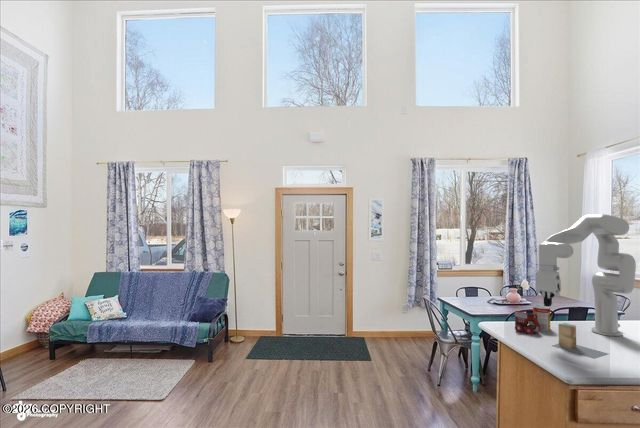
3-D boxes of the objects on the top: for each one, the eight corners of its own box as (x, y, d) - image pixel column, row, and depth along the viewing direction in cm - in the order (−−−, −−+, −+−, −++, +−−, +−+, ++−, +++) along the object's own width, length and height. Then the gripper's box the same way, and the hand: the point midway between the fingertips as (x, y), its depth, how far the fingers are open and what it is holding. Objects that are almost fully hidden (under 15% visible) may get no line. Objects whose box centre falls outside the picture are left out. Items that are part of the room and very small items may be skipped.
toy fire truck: (536, 336, 184) (536, 316, 184) (511, 330, 194) (511, 311, 194) (542, 334, 188) (542, 314, 188) (517, 328, 198) (517, 309, 198)
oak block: (565, 343, 172) (564, 322, 172) (576, 347, 167) (575, 325, 168) (558, 345, 170) (558, 323, 170) (570, 348, 165) (569, 326, 165)
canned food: (547, 327, 200) (546, 305, 200) (552, 331, 192) (552, 308, 193) (531, 326, 202) (531, 304, 202) (536, 330, 194) (536, 308, 194)
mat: (565, 342, 175) (565, 341, 175) (609, 354, 159) (609, 353, 159) (551, 346, 169) (551, 345, 169) (594, 359, 153) (594, 358, 153)
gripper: (568, 269, 172) (568, 308, 171) (537, 266, 185) (537, 302, 185) (559, 270, 168) (559, 310, 168) (528, 267, 182) (528, 303, 181)
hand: (547, 305), depth 176 cm, fingers closed
